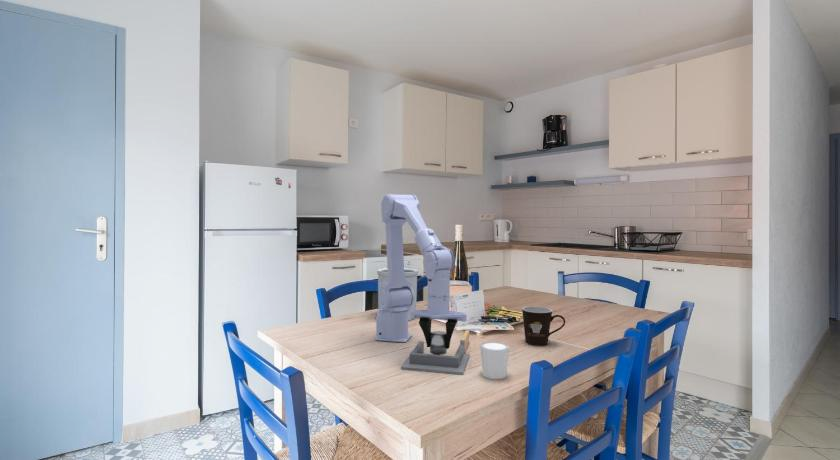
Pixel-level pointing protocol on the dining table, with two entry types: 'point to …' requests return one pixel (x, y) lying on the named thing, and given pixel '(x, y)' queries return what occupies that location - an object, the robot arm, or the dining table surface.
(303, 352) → the dining table surface
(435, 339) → the steel cylinder
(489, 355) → the white cylinder
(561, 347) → the dining table surface
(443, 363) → the housing
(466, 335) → the gate
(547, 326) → the coffee mug
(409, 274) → the utensil holder
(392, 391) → the dining table surface
